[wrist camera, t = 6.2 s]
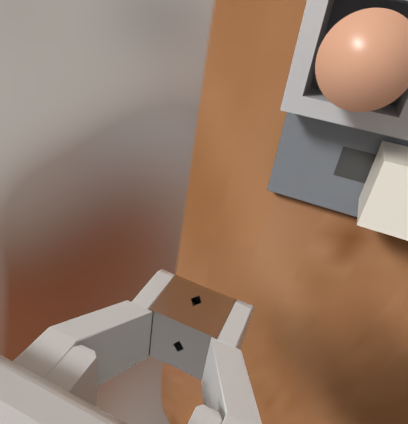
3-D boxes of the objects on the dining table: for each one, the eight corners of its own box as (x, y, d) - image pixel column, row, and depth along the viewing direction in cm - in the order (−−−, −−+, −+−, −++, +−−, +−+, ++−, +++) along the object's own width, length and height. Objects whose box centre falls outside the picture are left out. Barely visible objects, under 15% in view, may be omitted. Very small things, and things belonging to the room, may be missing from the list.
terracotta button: (392, 103, 19) (396, 121, 15) (315, 87, 20) (304, 100, 16) (427, 17, 17) (440, 16, 13) (339, 4, 18) (332, 0, 14)
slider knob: (424, 217, 23) (432, 248, 20) (358, 198, 24) (356, 225, 21) (455, 158, 21) (470, 182, 17) (382, 140, 22) (384, 160, 18)
